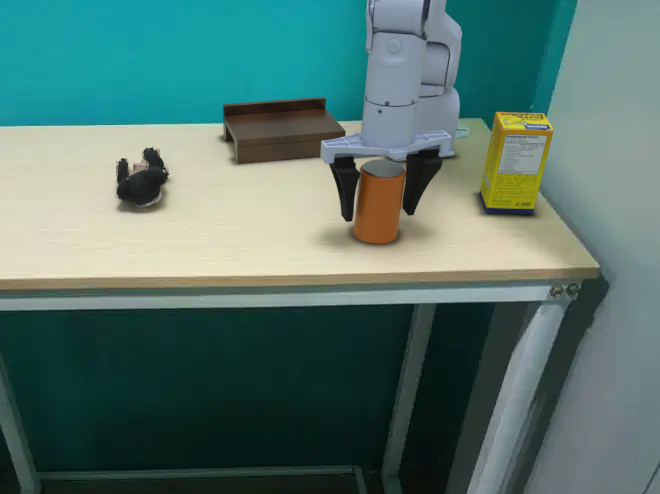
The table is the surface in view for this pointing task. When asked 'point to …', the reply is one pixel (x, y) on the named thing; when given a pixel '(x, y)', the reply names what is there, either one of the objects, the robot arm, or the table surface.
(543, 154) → the supplement box
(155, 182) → the toy figure
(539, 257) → the table surface
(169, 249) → the table surface
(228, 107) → the shelf
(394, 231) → the can
